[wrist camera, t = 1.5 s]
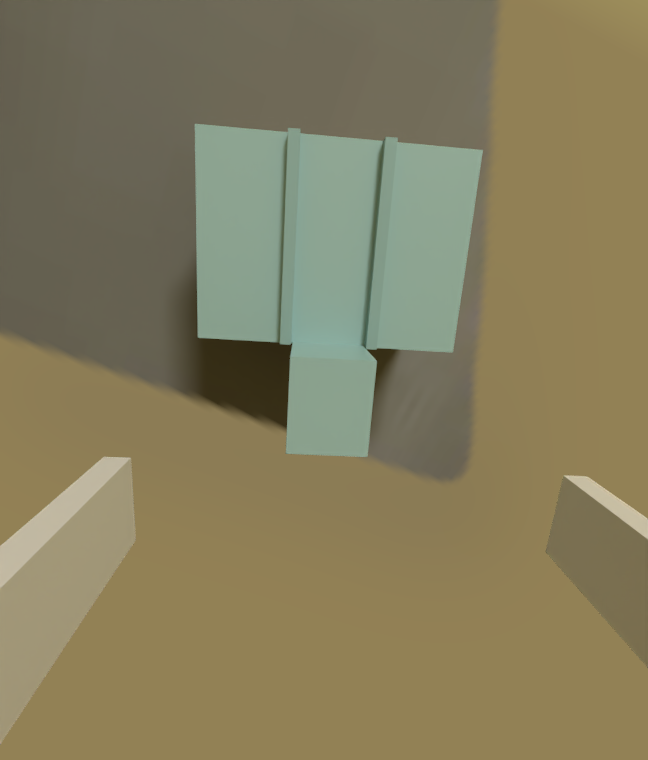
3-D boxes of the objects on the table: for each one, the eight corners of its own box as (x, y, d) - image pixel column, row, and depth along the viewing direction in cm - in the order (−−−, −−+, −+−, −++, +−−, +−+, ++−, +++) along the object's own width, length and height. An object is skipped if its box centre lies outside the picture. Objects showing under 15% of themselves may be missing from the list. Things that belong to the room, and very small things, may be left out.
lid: (206, 407, 25) (174, 449, 19) (204, 136, 21) (163, 78, 15) (432, 417, 26) (472, 460, 20) (468, 160, 22) (532, 114, 16)
